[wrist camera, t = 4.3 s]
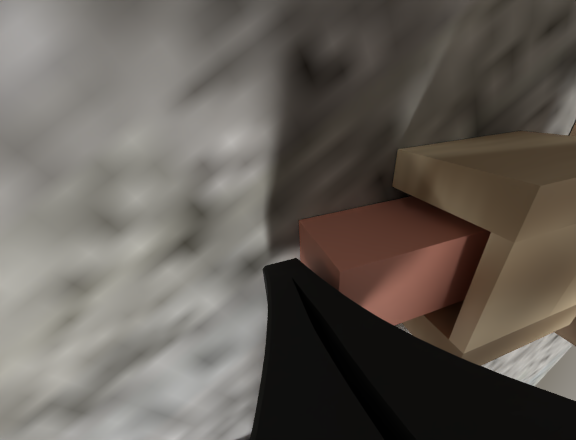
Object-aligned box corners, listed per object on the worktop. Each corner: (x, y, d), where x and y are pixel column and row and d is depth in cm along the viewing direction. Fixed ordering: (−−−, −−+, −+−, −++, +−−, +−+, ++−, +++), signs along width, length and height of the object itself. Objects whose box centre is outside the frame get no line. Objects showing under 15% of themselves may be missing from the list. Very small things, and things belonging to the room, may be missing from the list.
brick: (436, 245, 13) (502, 286, 10) (301, 283, 11) (336, 346, 8) (452, 187, 12) (535, 216, 9) (298, 220, 10) (340, 271, 7)
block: (470, 263, 15) (569, 324, 11) (376, 294, 13) (452, 379, 9) (520, 130, 11) (697, 148, 7) (397, 149, 10) (540, 185, 6)
